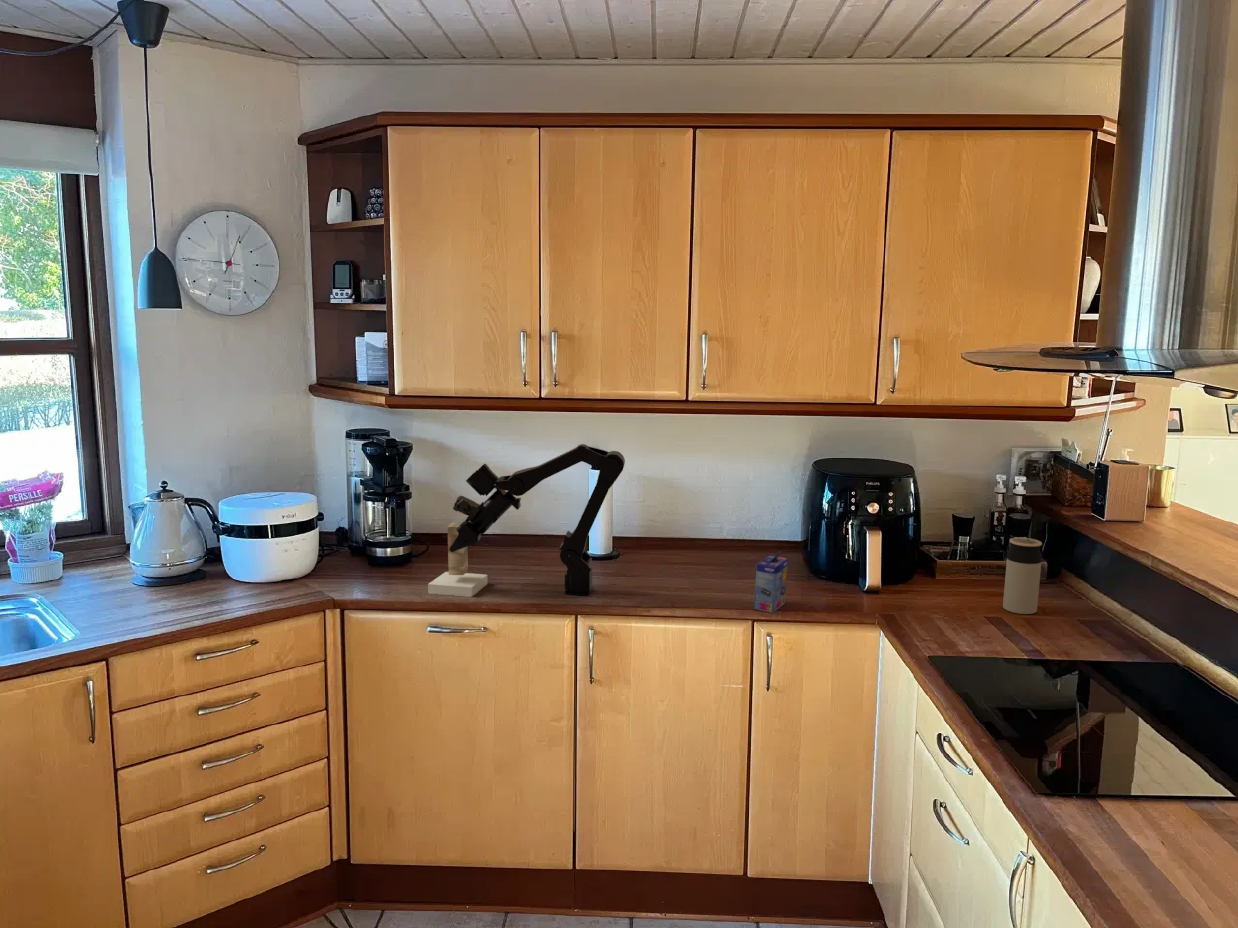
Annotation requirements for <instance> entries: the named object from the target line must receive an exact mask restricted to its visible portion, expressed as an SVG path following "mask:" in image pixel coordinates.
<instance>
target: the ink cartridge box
mask: <svg viewBox="0 0 1238 928" xmlns="http://www.w3.org/2000/svg"><path fill="white" fill-rule="evenodd" d="M781 553H782V550H780V551H778V552H777V553H776V554H775V555H767V556H766V557H765V558H764V559H762V560H760V561H759V562H757V563H756V573H755V590H754V602H753V603H754V604H753V610H756V611H761V612H765V613H770V614H774V613H775V612H776V611H777V610H779V609H780V608H781V607H782V606H783V605H785V604H786V603H785V601H786V600H785V599H786V591H787V590H786V589H787V579H788V565H789V564H788V563H789V558H787V557H782V556H780V555H781Z"/></svg>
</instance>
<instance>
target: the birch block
mask: <svg viewBox="0 0 1238 928" xmlns="http://www.w3.org/2000/svg"><path fill="white" fill-rule="evenodd" d="M462 523H463V522H451V523H449V525H448V526H447V553H448V554H447V555H448V556H447V559H448V565H447V566H448V572H449V575H464V574H465V573H468V571H469V562H468V560H469V559H468V558H469V557H468V556H469V554H468V551H469V550H468V546H467V547H464V548H462V549H459V550H457V551H454V552H451V551H450V550H449V549H450V547H451V546H452V544H453V543H454V541H455V540H456V538H457V537H458V532H457V530H456V529H457V527H458V526H459V525H460V524H462Z"/></svg>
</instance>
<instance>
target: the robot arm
mask: <svg viewBox="0 0 1238 928" xmlns="http://www.w3.org/2000/svg"><path fill="white" fill-rule="evenodd" d="M580 463H586V464H587V465H590V466H591V467H594V468H595V469H599V473H598V476H597V480H596V484H595V486H594V488H593V491H592V493H591V495H590V497H589V499H588V501H587V503H586V505H585V508H584V511H583V512H582V514H581V516H580V519H579V521H578V523H577V525H576V527H575V529H574V530H573V531H572V532H571V531H569V530H567V531H566V533H565V536H564V539H563V541H562V542H561V544H560V546H559V548H558V550H559V551H560V553H559V559H560V561H561V562H562V564H563V565H565V566H566V573H565V574H564V590H565V591H564V594H565V595H575V596H587V597H588V596H590V595H591V593H592V591H593V590H594V589H595V588H594V586H593V568H592V567H590V566H591V563H592V559H593V557H591V556H590V555H589V553H587V551H585V548H586V545H587V541H588V537H589V533H590V531H591V529H592V526H594V525H593V524H595V523H594V522H595V520H596V518H597V516H598V514H599V512H600V510H601V507H602V505H603V503H604V501H605V499H606V497H607V494H608V492H609V490H610V488H611V487H612V486H613V485H614V483H616V481H617V479H618V478H619V476H620V475H621V473H622V472H623V471H624V468H625V463H626V460H625V457H624V455H623V454H622V452H620V451H617V450H611V451H607V450H604V449H601V448H597V447H592V446H590V445H587V444H586V443H582V444H578V445H577V446H576V447H574V448H572V449H570V450H569V451H566V452H564V453H562V454H559V455H557V456H556V457H553V458H552V459H550V460H548V461H546V462H543V463H541V464H539V465H536V466H532V467H527V468H522V469H519V470H517V471H515V472H512V474H510V475H502V476H499V477H498V476H497V474H495V473H494V471H492V470H491V469H490V467H489V466H488V464H486V463H483V464H482V465H481V466H480V467H479V468H478V469H476V471H474V472H473V473H472V474H471V475H470V476H469V477H468V478H467V479H466V480H465V482H466V483H467V484H468V485H469V486H470V487H471V488H472V489H473V490H474V491H475V492H476V493H477V494H478V495H479V496H480V497H482V496H486V497H487V496H488V495H489V494H491V492H492V491H494V490H495V491H494V492H493V493H492V494H491V495H490V496H488V498H487V499H486V500H485V501H482V502H481V503H477V502H476V501H474V500H472V499H470V498H469V497H466V496H463V495H459V496H458V497H457V498H456V501H455V502H454V503H453V507H452V510H453V511H454V512H459V513H460V514H463V515H465V516H467V517H466V518H465V520H464V521H462V522H461V523H462V524H460V525H459V526H458V527H457V529H456V530H457V532H458V537H457V538H456V540H455V541H454V543H453V544H452V546H451V547H450V549H449V550H450V551H451V552H454V551H457V550H459V549H462V548H464V547H467V548H468V547H470V546H472V547H474V546H475V545H476V544H477V543H478V542H479V541H480V540H481V538H482V536H483V535H484V534H485V533H486V532H487V531H488V530H489V529H490V528H491V527H492V526H493V525H494V524H495V523H496V522H497V521H499V519H500V518H501V517H502V516H503V515H504V514H505V513H506V512H507V511H508V510H509V509H510V508H512V507H513V508H515V510H517V511H518V510H519V509H520V508H521V507H522V505H521V500H522V497H520V496H523V495H524V494H526V493H527V492H529V491H530V490H531V489H533V488H534V487H535V486H537V485H538V484H540V483H541V482H542V481H544V480H546V479H548V478H550V477H551V476H553V475H556V474H559V473H560V472H562V471H564V470H566V469H568V468H571V467H573V466H575V465H577V464H580Z"/></svg>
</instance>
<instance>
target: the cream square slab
mask: <svg viewBox="0 0 1238 928" xmlns="http://www.w3.org/2000/svg"><path fill="white" fill-rule="evenodd" d="M488 578H489V577H488V574H485V573H484V574H483V573H472V572H471V573H469V572H466V573H465V574H464V575H449V571H445V572H443V573H442V574H440V575H439V576H438V577H436V578H435V579H433V580H431V581H430V582H429V583H427V592H428V594H430V595H440V596H441V595H442V596H453V595H454V596H456V597H469V598H472V597H474V596H475V595H476V594H477V593H478V592H479V591H480V590H482V589H483V588H484V587H486V586H487V585H488Z"/></svg>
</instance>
